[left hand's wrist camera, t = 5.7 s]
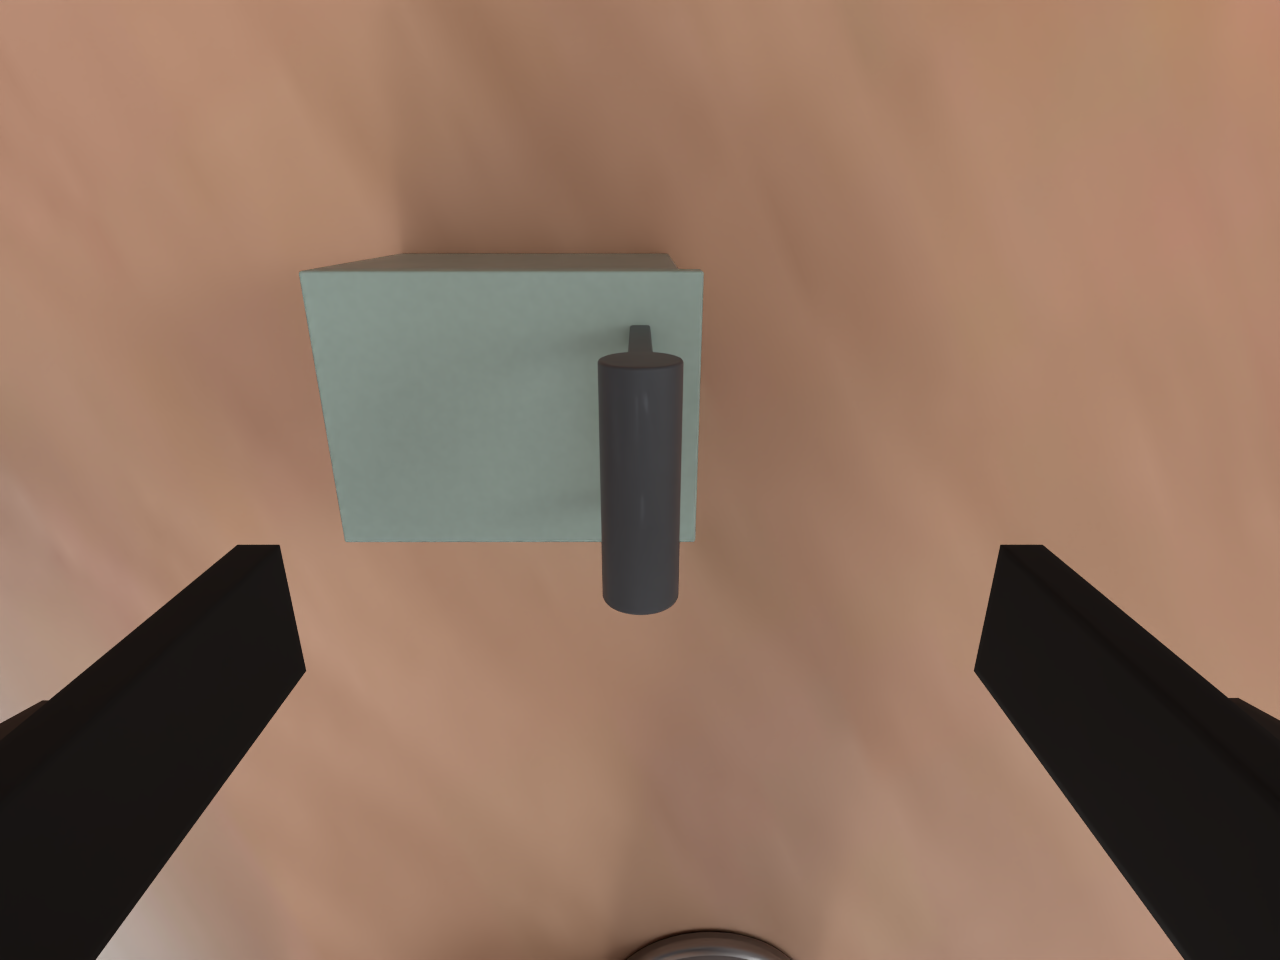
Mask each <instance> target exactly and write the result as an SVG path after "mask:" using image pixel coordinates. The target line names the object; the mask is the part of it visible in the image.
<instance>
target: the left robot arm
mask: <svg viewBox="0 0 1280 960" xmlns="http://www.w3.org/2000/svg"><path fill="white" fill-rule="evenodd" d="M305 672H306V668H305V663H304V659H303V654H302V649H301V644H300V640H299V635H298V630H297V625H296V621H295V616H294V611H293V606H292V602H291V597H290V592H289V587H288V583H287V578H286V573H285V568H284V564H283V559H282V554H281V550H280V545H237V546H235V547H234V548H233V549H232V550H231V551H229V552H228V553H227V554H226V555H225V556H223V557H222V558H221V559H220V560H218V561H217V562H216V563H215V564H214V565H212V566H211V567H210V568H209V569H208V570H206V571H205V572H204V573H203V574H202V575H200V576H199V577H198V578H197V579H195V580H194V581H193V582H192V583H191V584H189V585H188V586H187V587H186V588H185V589H183V590H182V591H181V592H180V593H178V594H177V595H176V596H175V597H174V598H172V599H171V600H170V601H169V602H168V603H166V604H165V605H164V606H163V607H162V608H160V609H159V610H158V611H157V612H155V613H154V614H153V615H152V616H151V617H149V618H148V619H147V620H146V621H145V622H143V623H142V624H141V625H140V626H138V627H137V628H136V629H135V630H134V631H132V632H131V633H130V634H129V635H128V636H126V637H125V638H124V639H123V640H122V641H120V642H119V643H118V644H117V645H115V646H114V647H113V648H112V649H111V650H109V651H108V652H107V653H106V654H105V655H103V656H102V657H101V658H100V659H98V660H97V661H96V662H95V663H94V664H92V665H91V666H90V667H89V668H88V669H86V670H85V671H84V672H83V673H82V674H80V675H79V676H78V677H77V678H75V679H74V680H73V681H72V682H71V683H69V684H68V685H67V686H66V687H65V688H63V689H62V690H61V691H60V692H59V693H57V694H56V695H55V696H54V697H52V698H51V699H50V700H49V701H41V702H39V703H37V704H35V705H33V706H32V707H30V708H28V709H26V710H24V711H22V712H21V713H19V714H17V715H15V716H13V717H11V718H10V719H8V720H6V721H4V722H2V723H0V960H96V958H97V957H98V956H99V954H100V953H101V952H102V950H103V949H104V947H105V946H106V945H107V943H108V942H109V941H110V939H111V938H112V936H113V935H114V934H115V932H116V931H117V930H118V928H119V927H120V925H121V924H122V923H123V921H124V920H125V919H126V917H127V916H128V915H129V913H130V912H131V910H132V909H133V908H134V906H135V905H136V904H137V902H138V901H139V899H140V898H141V897H142V895H143V894H144V893H145V891H146V890H147V888H148V887H149V886H150V884H151V883H152V882H153V880H154V879H155V877H156V876H157V875H158V873H159V872H160V871H161V869H162V868H163V866H164V865H165V864H166V862H167V861H168V860H169V858H170V857H171V856H172V854H173V853H174V851H175V850H176V849H177V847H178V846H179V845H180V843H181V842H182V840H183V839H184V838H185V836H186V835H187V834H188V832H189V831H190V829H191V828H192V827H193V825H194V824H195V823H196V821H197V820H198V818H199V817H200V816H201V814H202V813H203V812H204V810H205V809H206V807H207V806H208V805H209V803H210V802H211V801H212V799H213V798H214V797H215V795H216V794H217V792H218V791H219V790H220V788H221V787H222V786H223V784H224V783H225V781H226V780H227V779H228V777H229V776H230V775H231V773H232V772H233V770H234V769H235V768H236V766H237V765H238V764H239V762H240V761H241V759H242V758H243V757H244V755H245V754H246V753H247V751H248V750H249V748H250V747H251V746H252V744H253V743H254V742H255V740H256V739H257V738H258V736H259V735H260V733H261V732H262V731H263V729H264V728H265V727H266V725H267V724H268V722H269V721H270V720H271V718H272V717H273V716H274V714H275V713H276V711H277V710H278V709H279V707H280V706H281V705H282V703H283V702H284V700H285V699H286V698H287V696H288V695H289V694H290V692H291V691H292V689H293V688H294V687H295V685H296V684H297V683H298V681H299V680H300V679H301V677H302V676H303V674H304V673H305ZM974 672H975V673H976V674H977V676H978V677H979V679H980V680H981V681H982V683H983V684H984V685H985V687H986V688H987V689H988V691H989V692H990V694H991V695H992V696H993V698H994V699H995V700H996V702H997V703H998V705H999V706H1000V707H1001V709H1002V710H1003V711H1004V713H1005V714H1006V716H1007V717H1008V718H1009V720H1010V721H1011V722H1012V724H1013V725H1014V727H1015V728H1016V729H1017V731H1018V732H1019V733H1020V735H1021V736H1022V738H1023V739H1024V740H1025V742H1026V743H1027V744H1028V746H1029V747H1030V748H1031V750H1032V751H1033V753H1034V754H1035V755H1036V757H1037V758H1038V759H1039V761H1040V762H1041V764H1042V765H1043V766H1044V768H1045V769H1046V770H1047V772H1048V773H1049V775H1050V776H1051V777H1052V779H1053V780H1054V781H1055V783H1056V784H1057V786H1058V787H1059V788H1060V790H1061V791H1062V792H1063V794H1064V795H1065V797H1066V798H1067V799H1068V801H1069V802H1070V803H1071V805H1072V806H1073V807H1074V809H1075V810H1076V812H1077V813H1078V814H1079V816H1080V817H1081V818H1082V820H1083V821H1084V823H1085V824H1086V825H1087V827H1088V828H1089V829H1090V831H1091V832H1092V834H1093V835H1094V836H1095V838H1096V839H1097V840H1098V842H1099V843H1100V845H1101V846H1102V847H1103V849H1104V850H1105V851H1106V853H1107V854H1108V856H1109V857H1110V858H1111V860H1112V861H1113V862H1114V864H1115V865H1116V866H1117V868H1118V869H1119V871H1120V872H1121V873H1122V875H1123V876H1124V877H1125V879H1126V880H1127V882H1128V883H1129V884H1130V886H1131V887H1132V888H1133V890H1134V891H1135V893H1136V894H1137V895H1138V897H1139V898H1140V899H1141V901H1142V902H1143V904H1144V905H1145V906H1146V908H1147V909H1148V910H1149V912H1150V913H1151V915H1152V916H1153V917H1154V919H1155V920H1156V921H1157V923H1158V924H1159V925H1160V927H1161V928H1162V930H1163V931H1164V932H1165V934H1166V935H1167V936H1168V938H1169V939H1170V941H1171V942H1172V943H1173V945H1174V946H1175V947H1176V949H1177V950H1178V952H1179V953H1180V954H1181V956H1182V957H1183V958H1184V960H1280V720H1278V719H1276V718H1274V717H1272V716H1270V715H1269V714H1267V713H1265V712H1263V711H1261V710H1259V709H1258V708H1256V707H1254V706H1252V705H1250V704H1248V703H1247V702H1245V701H1243V700H1241V699H1239V698H1228V697H1226V696H1225V695H1224V694H1223V693H1221V692H1220V691H1219V690H1218V689H1217V688H1215V687H1214V686H1213V685H1212V684H1211V683H1209V682H1208V681H1207V680H1206V679H1205V678H1203V677H1202V676H1201V675H1200V674H1198V673H1197V672H1196V671H1195V670H1194V669H1192V668H1191V667H1190V666H1189V665H1188V664H1186V663H1185V662H1184V661H1183V660H1182V659H1180V658H1179V657H1178V656H1177V655H1175V654H1174V653H1173V652H1172V651H1171V650H1169V649H1168V648H1167V647H1166V646H1165V645H1163V644H1162V643H1161V642H1160V641H1158V640H1157V639H1156V638H1155V637H1154V636H1152V635H1151V634H1150V633H1149V632H1148V631H1146V630H1145V629H1144V628H1143V627H1142V626H1140V625H1139V624H1138V623H1137V622H1135V621H1134V620H1133V619H1132V618H1131V617H1129V616H1128V615H1127V614H1126V613H1125V612H1123V611H1122V610H1121V609H1120V608H1118V607H1117V606H1116V605H1115V604H1114V603H1112V602H1111V601H1110V600H1109V599H1108V598H1106V597H1105V596H1104V595H1103V594H1102V593H1100V592H1099V591H1098V590H1097V589H1095V588H1094V587H1093V586H1092V585H1091V584H1089V583H1088V582H1087V581H1086V580H1085V579H1083V578H1082V577H1081V576H1080V575H1078V574H1077V573H1076V572H1075V571H1074V570H1072V569H1071V568H1070V567H1069V566H1068V565H1066V564H1065V563H1064V562H1063V561H1062V560H1060V559H1059V558H1058V557H1057V556H1055V555H1054V554H1053V553H1052V552H1051V551H1049V550H1048V549H1047V548H1046V547H1045V546H1043V545H1000V550H999V554H998V559H997V564H996V568H995V573H994V578H993V583H992V587H991V592H990V597H989V602H988V606H987V611H986V616H985V621H984V625H983V630H982V635H981V640H980V644H979V649H978V654H977V659H976V663H975V668H974ZM627 960H791V959H790V958H789V957H787V956H786V955H785V954H784V953H782V952H781V951H779V950H778V949H776V948H774V947H772V946H771V945H769V944H767V943H764V942H762V941H759V940H757V939H754V938H751V937H747V936H743V935H738V934H732V933H723V932H697V933H688V934H682V935H678V936H673V937H669V938H666V939H663V940H660V941H658V942H655V943H653V944H651V945H649V946H647V947H645V948H643V949H641V950H639V951H638V952H636V953H635V954H633V955H632V956H631V957H629V958H628V959H627Z"/></svg>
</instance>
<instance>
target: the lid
mask: <svg viewBox="0 0 1280 960" xmlns="http://www.w3.org/2000/svg"><path fill="white" fill-rule="evenodd" d="M299 276H300V282H301V288H302V294H303V300H304V305H305V311H306V317H307V323H308V329H309V334H310V340H311V346H312V352H313V358H314V363H315V369H316V375H317V381H318V387H319V392H320V398H321V404H322V410H323V416H324V422H325V427H326V433H327V439H328V445H329V451H330V456H331V462H332V468H333V474H334V480H335V485H336V491H337V497H338V503H339V509H340V514H341V520H342V526H343V532H344V538H345V541H346V542H602V583H603V598H604V600H605V602H606V603H607V604H608V605H609V606H610V607H611V608H613V609H615V610H617V611H620V612H623V613H627V614H634V615H648V614H654V613H658V612H661V611H664V610H666V609H668V608H670V607H671V606H672V605H673V604H674V603H675V602H676V600H677V598H678V584H679V542H694V541H695V528H696V497H697V466H698V435H699V404H700V373H701V341H702V310H703V279H704V273H703V271H702V270H700V269H310V270H304V271H300V272H299Z"/></svg>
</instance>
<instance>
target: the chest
mask: <svg viewBox="0 0 1280 960" xmlns="http://www.w3.org/2000/svg"><path fill="white" fill-rule="evenodd" d="M315 269H678V268H677V266H676V265H675V263H674V262H673V261H672V259H671V258H670V256H669V255H668V254H397V255H391V256H385V257H379V258H373V259H367V260H362V261H356V262H350V263H344V264H338V265H333V266H327V267H321V268H315Z"/></svg>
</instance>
